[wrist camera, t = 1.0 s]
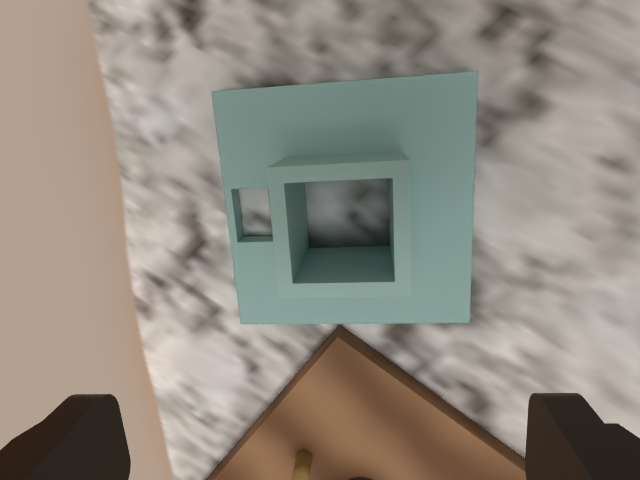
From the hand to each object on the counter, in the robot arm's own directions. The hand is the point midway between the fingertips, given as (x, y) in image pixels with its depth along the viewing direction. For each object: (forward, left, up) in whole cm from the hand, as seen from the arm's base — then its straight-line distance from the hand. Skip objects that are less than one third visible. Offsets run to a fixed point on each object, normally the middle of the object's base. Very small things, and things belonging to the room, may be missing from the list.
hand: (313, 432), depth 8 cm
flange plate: (-1, -1, -17) cm, 17 cm away
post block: (+13, +11, -17) cm, 24 cm away
